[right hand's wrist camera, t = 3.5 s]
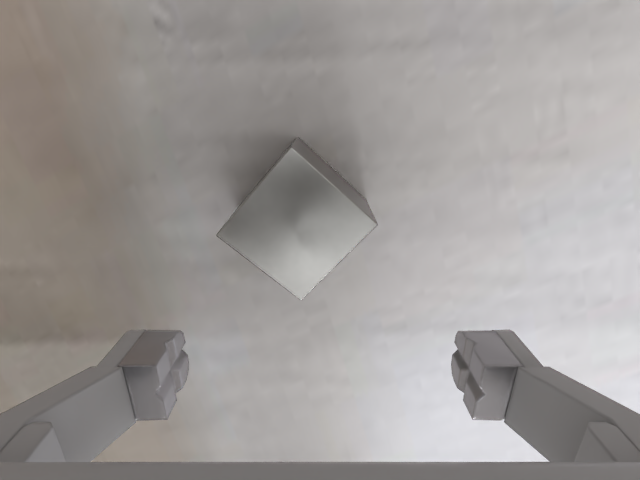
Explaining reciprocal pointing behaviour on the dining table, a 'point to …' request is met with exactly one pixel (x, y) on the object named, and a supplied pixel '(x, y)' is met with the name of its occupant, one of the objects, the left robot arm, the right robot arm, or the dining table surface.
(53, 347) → the dining table surface
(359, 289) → the dining table surface
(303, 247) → the block
